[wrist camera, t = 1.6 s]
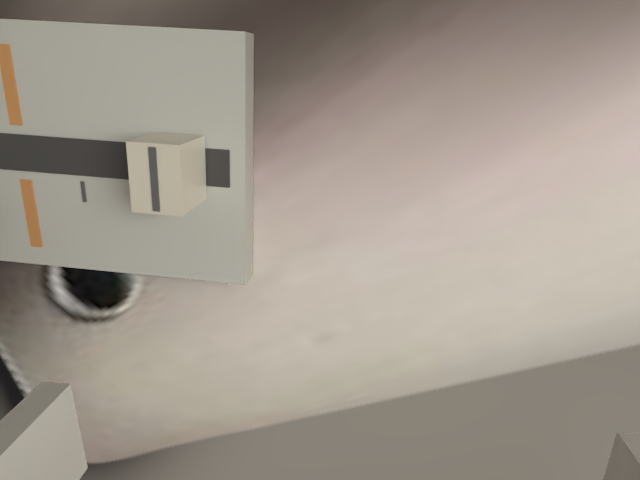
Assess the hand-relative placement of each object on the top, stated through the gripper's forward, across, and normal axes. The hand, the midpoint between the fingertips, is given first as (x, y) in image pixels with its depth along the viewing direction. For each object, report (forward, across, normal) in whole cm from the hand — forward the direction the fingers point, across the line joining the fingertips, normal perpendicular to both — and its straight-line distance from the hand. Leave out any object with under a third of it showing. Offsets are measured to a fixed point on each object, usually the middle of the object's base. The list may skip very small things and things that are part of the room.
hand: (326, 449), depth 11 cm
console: (+21, -18, +3) cm, 28 cm away
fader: (+19, -11, +3) cm, 22 cm away
